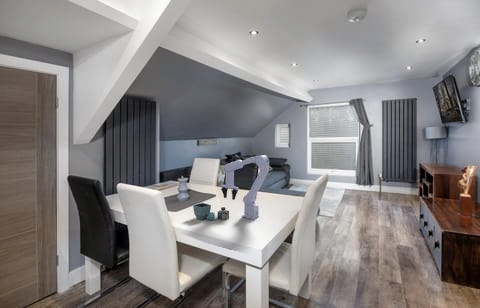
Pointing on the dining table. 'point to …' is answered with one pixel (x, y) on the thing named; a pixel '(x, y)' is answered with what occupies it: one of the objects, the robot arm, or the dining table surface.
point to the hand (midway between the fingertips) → (229, 198)
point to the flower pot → (201, 210)
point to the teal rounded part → (211, 216)
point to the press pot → (223, 215)
